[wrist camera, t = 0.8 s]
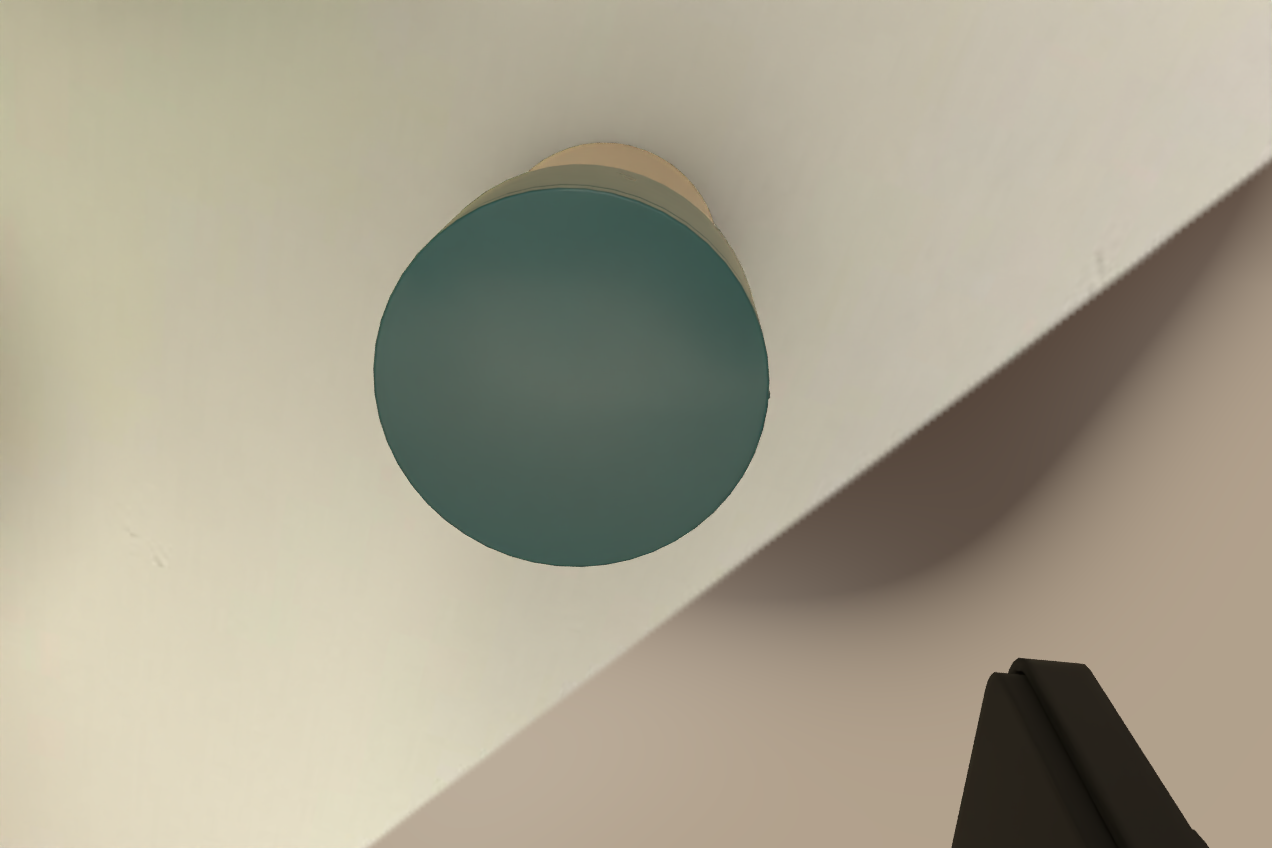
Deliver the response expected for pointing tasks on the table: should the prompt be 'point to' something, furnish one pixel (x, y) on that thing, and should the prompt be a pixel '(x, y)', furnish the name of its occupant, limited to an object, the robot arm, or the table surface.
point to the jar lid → (573, 367)
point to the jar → (629, 166)
